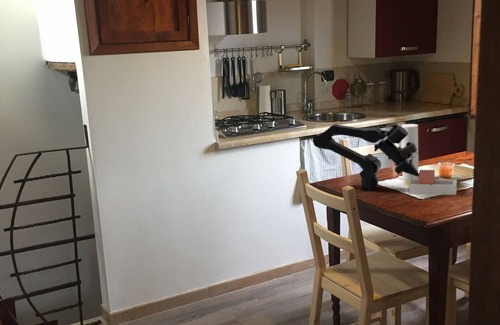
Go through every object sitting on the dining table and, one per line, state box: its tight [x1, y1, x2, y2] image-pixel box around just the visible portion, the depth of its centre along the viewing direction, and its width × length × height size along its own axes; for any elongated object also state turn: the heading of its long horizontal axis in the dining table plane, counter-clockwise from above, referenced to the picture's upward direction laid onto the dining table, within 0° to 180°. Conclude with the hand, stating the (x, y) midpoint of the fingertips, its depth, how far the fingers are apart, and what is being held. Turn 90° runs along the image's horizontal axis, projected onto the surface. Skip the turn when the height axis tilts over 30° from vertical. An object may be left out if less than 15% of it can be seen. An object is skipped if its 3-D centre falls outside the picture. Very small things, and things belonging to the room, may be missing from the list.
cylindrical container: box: [401, 123, 420, 181], centre depth 240 cm, size 7×7×25 cm
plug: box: [418, 169, 436, 184], centre depth 221 cm, size 6×6×8 cm
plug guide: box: [408, 178, 458, 196], centre depth 221 cm, size 19×9×4 cm, turn 68°
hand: (418, 175), depth 222 cm, fingers closed, pressing on plug
